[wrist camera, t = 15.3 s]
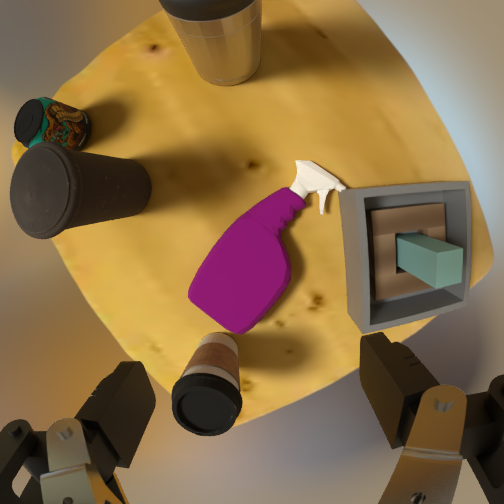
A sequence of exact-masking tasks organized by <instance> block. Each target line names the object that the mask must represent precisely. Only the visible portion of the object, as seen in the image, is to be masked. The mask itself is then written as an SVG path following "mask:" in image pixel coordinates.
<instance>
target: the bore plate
mask: <svg viewBox="0 0 504 504" xmlns="http://www.w3.org/2000/svg"><path fill="white" fill-rule="evenodd" d="M365 217H366V228H367V241H368V258H369V282H370V295H371V296H372V297H373V298H374V299H375V300H380V299H385V298H389V297H394V296H398V295H403V294H407V293H412V292H416V291H420V290H424V289H428V288H432V286H430V285H429V284H427V283H425V282H424V281H422V280H421V279H419V278H417V277H416V276H414V275H412V274H410V273H409V272H407V271H405V270H404V269H402V268H400V267H399V266H398V267H396V249H395V233H399V232H406V231H413V230H418V234H421V235H424V236H428V237H431V238H434V239H437V240H440V241H443V242H445V211H444V203H438V202H428V203H418V204H408V205H399V206H390V207H381V208H373V209H365Z"/></svg>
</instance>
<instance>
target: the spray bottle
mask: <svg viewBox="0 0 504 504" xmlns="http://www.w3.org/2000/svg"><path fill="white" fill-rule="evenodd" d="M296 166H297V176H296V179H295V182H294V183H293V184H292V186H291V187H290V188H287V187H285V188H281V189H280V190H278V191H276V192H275V193H273V194H271V195H269V196H268V197H266V198H265V199H263V200H262V201H260V202H259V203H257V204H256V205H255V206H253V207H252V208H251V209H250V210H248V211H247V212H246V213H244V214H243V215H242V216H240V217H239V218H238V219H237V220H236V221H235V222H234V223H233V224H232V225H231V226H230V227H229V228H228V229H227V230H226V231H225V232H224V234H223V235H222V236H221V238H220V239H219V240H218V241H217V243H216V244H215V245H214V246H213V248H212V249H211V251H210V252H209V254H208V255H207V257H206V258H205V260H204V261H203V263H202V265H201V266H200V268H199V269H198V271H197V273H196V275H195V277H194V279H193V281H192V283H191V285H190V287H189V290H188V298H189V299H190V301H191V302H192V303H193V304H195V305H196V306H197V307H198V308H200V309H201V310H202V311H203V312H205V313H206V314H207V315H209V316H210V317H211V318H212V319H214V320H215V321H216V322H218V323H219V324H220V325H222V326H223V327H224V328H225V329H227V330H229V331H231V332H233V333H236V334H244V333H245V332H247V331H249V330H250V329H252V328H253V327H254V326H255V325H256V324H257V323H258V322H259V321H260V320H261V318H262V317H263V316H264V315H265V314H266V313H267V312H268V310H269V309H270V308H271V307H272V306H273V305H274V304H275V302H276V301H277V300H278V299H279V298H280V296H281V295H282V294H283V292H284V290H285V289H286V287H287V285H288V283H289V282H290V280H291V263H290V259H289V256H288V253H287V251H286V248H285V246H284V244H283V241H282V239H281V237H282V230H284V229H285V228H286V226H287V223H288V222H289V221H291V220H293V219H294V217H295V214H296V211H298V210H300V209H302V208H304V207H305V206H306V202H305V201H304V199H305V197H306V196H307V194H308V193H313V192H318V194H319V196H320V215H323V208H324V203H325V199H326V196H327V194H328V192H329V191H331V190H332V189H336V190H337V191H339V192H341V190H343V189H346V187H345V186H344V185H342V184H341V183H340V182H339V180H338V179H337V178H335V177H334V176H332V175H331V174H330V173H328V172H327V171H325V170H324V169H322V168H321V167H319V166H318V165H316V164H315V163H313V162H312V161H303V160H296Z"/></svg>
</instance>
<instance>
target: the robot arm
mask: <svg viewBox="0 0 504 504" xmlns="http://www.w3.org/2000/svg"><path fill="white" fill-rule="evenodd" d="M159 1H160V3H161V5H162V7H163V8H164V10H165V12H166V14H167V16H168V17H169V19H170V21H171V23H172V24H173V26H174V28H175V30H176V32H177V34H178V36H179V37H180V39H181V41H182V43H183V45H184V47H185V49H186V51H187V53H188V54H189V56H190V58H191V60H192V62H193V64H194V66H195V68H196V70H197V72H198V73H199V75H200V76H201V77H202V78H203V79H204V80H205V81H207V82H209V83H211V84H215V85H219V86H232V85H236V84H239V83H241V82H244V81H246V80H247V79H249V78H250V77H251V76H252V75H253V74H254V73H255V72H256V70H257V69H258V67H259V63H260V52H261V18H262V0H159ZM359 372H360V381H361V385H362V387H363V390H364V391H365V394H366V395H367V398H368V400H369V402H370V404H371V406H372V408H373V410H374V412H375V414H376V416H377V418H378V420H379V422H380V425H381V427H382V429H383V431H384V433H385V435H386V437H387V440H388V442H389V444H390V445H391V448H392V449H395V448H398V447H401V446H404V449H403V451H402V453H401V455H400V458H399V460H398V463H397V465H396V467H395V470H394V472H393V474H392V476H391V478H390V481H389V483H388V485H387V487H386V489H385V491H384V493H383V495H382V497H381V499H380V501H379V502H378V504H451V503H452V500H453V497H454V493H455V490H456V486H457V482H458V479H459V474H460V470H461V466H462V460H463V459H467V461H468V463H469V465H470V466H471V468H472V470H473V472H474V474H475V476H476V478H477V480H478V481H479V484H480V486H481V488H482V489H483V492H484V494H485V495H486V498H487V500H488V502H489V504H504V375H500V376H497V377H496V378H494V379H493V380H492V382H491V383H490V386H489V389H488V391H487V392H482V393H476V394H471V395H465V394H464V392H463V391H462V390H460V389H459V388H456V387H454V386H451V385H440V384H439V382H438V381H437V380H436V379H435V378H434V376H433V375H432V374H431V373H430V372H429V371H428V369H427V368H426V367H425V366H424V365H423V364H422V363H421V362H420V360H419V359H418V358H417V357H415V354H414V353H413V352H412V351H411V350H410V349H409V348H408V347H407V346H405V345H403V344H401V343H399V342H393V343H391V342H390V341H389V339H388V338H387V337H386V336H385V335H384V333H383V332H378V333H374V334H369V335H365V336H362V337H361V340H360V371H359ZM155 402H156V399H155V394H154V391H153V388H152V386H151V383H150V381H149V378H148V376H147V373H146V370H145V368H144V365H143V364H142V362H140V361H122V362H120V364H119V365H118V366H117V368H116V369H115V370H114V372H113V373H111V374H110V375H108V376H107V377H106V378H104V379H103V380H102V381H101V382H100V383H99V385H98V386H97V387H96V390H94V391H93V393H92V394H91V397H89V398H88V399H87V401H86V402H85V403H84V405H83V406H82V408H81V409H80V410H79V412H78V413H77V414H76V416H75V417H74V418H63V419H60V420H58V421H56V422H54V423H53V424H52V425H51V426H50V427H49V428H48V430H47V431H34V430H33V429H32V427H31V426H30V424H29V423H28V422H27V421H26V420H22V419H18V420H14V421H12V422H10V423H8V424H7V425H6V426H5V427H4V428H3V429H2V431H1V432H0V504H129V502H128V500H127V498H126V496H125V493H124V491H123V489H122V487H121V484H120V482H119V479H118V477H117V475H116V474H115V473H114V470H115V467H116V466H117V467H123V468H129V467H130V464H131V462H132V459H133V457H134V455H135V452H136V450H137V448H138V445H139V443H140V441H141V438H142V436H143V434H144V431H145V429H146V427H147V424H148V422H149V420H150V418H151V415H152V413H153V411H154V409H155ZM22 465H23V466H24V467H25V468H26V469H27V471H28V472H29V473H30V474H31V475H32V476H31V478H30V480H29V482H28V483H27V485H26V487H25V488H24V490H23V492H22V494H21V496H20V498H19V497H18V496H17V495H16V494H15V493H14V491H13V489H12V481H13V479H14V478H15V476H16V475H17V473H18V471H19V470H20V468H21V466H22Z"/></svg>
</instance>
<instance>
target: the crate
mask: <svg viewBox="0 0 504 504" xmlns="http://www.w3.org/2000/svg"><path fill="white" fill-rule="evenodd" d="M338 195H339V203H340V212H341V221H342V231H343V242H344V254H345V268H346V284H347V306H348V314H349V315H350V317H351V318H352V320H353V321H354V322H355V324H356V325H357V327H358V328H359V330H360V331H361V332H362V334H365V333H370V332H374V331H378V330H383V329H387V328H391V327H395V326H399V325H403V324H407V323H411V322H414V321H418V320H422V319H425V318H429V317H432V316H436V315H439V314H442V313H446V312H449V311H452V310H455V309H458V308H461V307H464V306H467V305H468V297H469V287H470V275H471V255H472V217H471V197H470V184H469V181H435V182H419V183H405V184H392V185H381V186H370V187H359V188H349V189H343V190H341V192H339V191H338ZM428 202H438V203H444V211H445V242H446V243H449V244H452V245H455V246H458V247H461V248H463V265H462V280H461V283H457V284H453V285H449V286H445V287H441V288H437V289H435V288H434V287H432V288H428V289H424V290H420V291H416V292H412V293H407V294H403V295H398V296H394V297H389V298H385V299H380V300H375V299H374V298H373V297H372V296H371V295H370V282H369V258H368V241H367V228H366V217H365V209H373V208H381V207H390V206H399V205H408V204H418V203H428ZM412 232H415V233H418V230H413V231H406V232H399V233H395V235H397V234H405V233H412ZM396 267H398V266H397V265H396Z"/></svg>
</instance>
